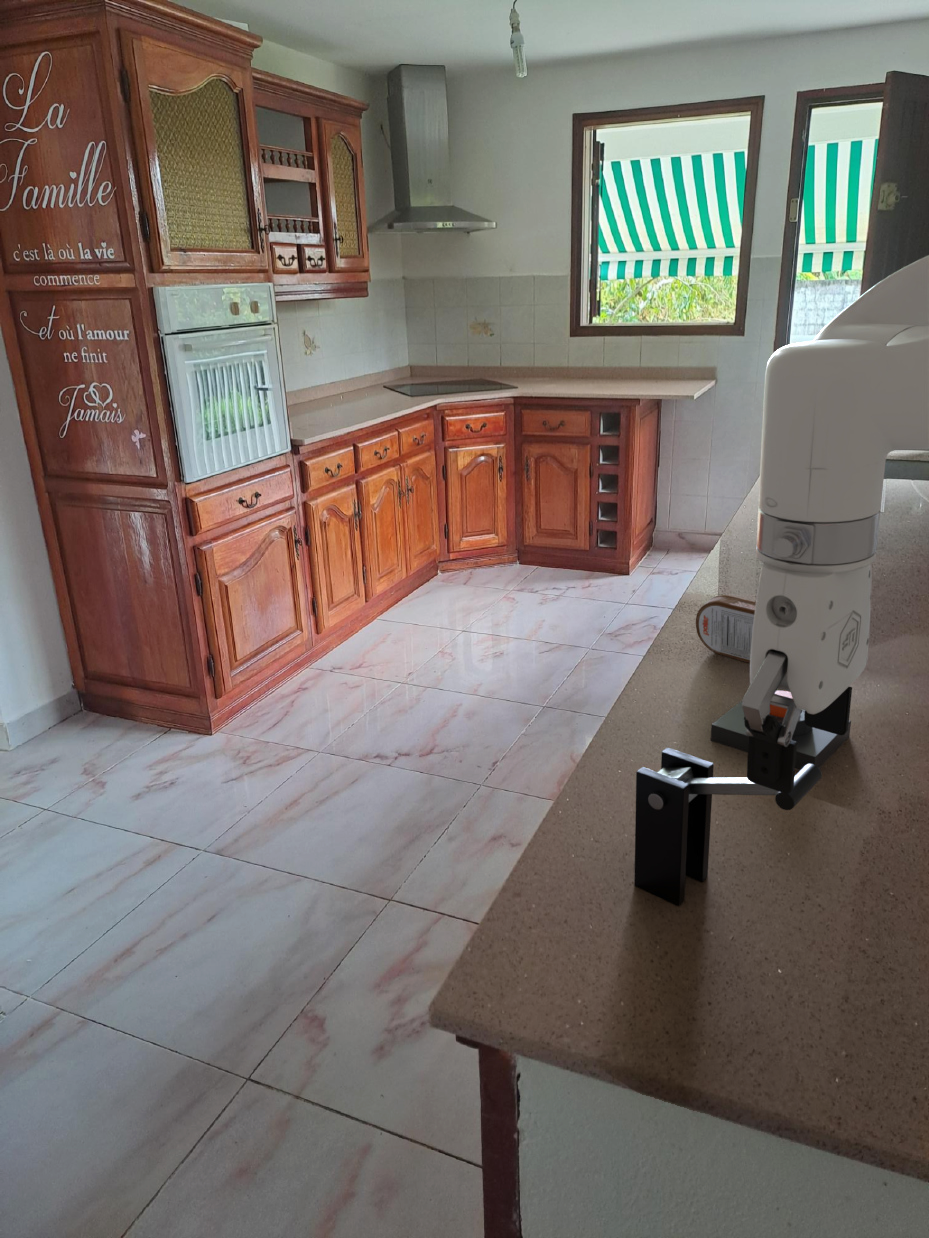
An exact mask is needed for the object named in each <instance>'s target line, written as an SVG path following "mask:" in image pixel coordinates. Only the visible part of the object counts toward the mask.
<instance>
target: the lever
mask: <svg viewBox="0 0 929 1238" xmlns="http://www.w3.org/2000/svg"><path fill="white" fill-rule="evenodd" d="M656 772H657V773H660V774H663V775H666V776H668V777H671V778H674V779H676V780H679V781H682V782H685V783H687V784H689V802H690V801H691V800H692V799H693V798H695V797H696V796H697V795H698V794H712V795H719V796H720V795H724V796H725V795H726V796H727V795H728V796H775V797H774V801H775V803H776V805H777V806H778V808H780V809H781V810H784V811H791V810H793V809H794V808H795V807H796V806H797V804H798V803H799V802H801V800H803V799H804V797H805V796H806V795H807V794H808V793H809V792H810V791H811V789H812V788H814V786H815V785H816V784H817V783H818V782H819V781H821V779H822V776H823V773H822V770H821V768H818V767H817V766H816V765H813V764H807V765H805V766H804V767H803V768H802V769H801V770H799V771H798V772H797V773H795V776H794V788H793V789H792V791H791V792H790V793H788V794H785V793H782V792H779V791H776V790H773V789H770V788H767V787H764V786H762V785H759V784H756V783H753V782H750V781H749V780H748V778H747V777H713V778H694V775H693V772H692V769H691V767H674V768H662V769H661V768H660V769H659V770H658V771H656Z"/></svg>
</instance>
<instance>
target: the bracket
mask: <svg viewBox="0 0 929 1238" xmlns="http://www.w3.org/2000/svg"><path fill="white" fill-rule="evenodd" d="M660 760H661V763H660V770H661V769H662V768H674V767H691V769H692V772H693V775H694V778H714V767H715V763H714V762H711V761H708V760H705V759H702V758H700V757H696V756H693V755H691V754H688V753H685V752H682V751H679V750H676V749H674V748H670V747H666V748H665V749H663V750H662V751H661V757H660ZM657 772H658V771H654V770H652V769H650V768H646V767H644V766H642V767H640V768H639V769H638V770H637V771H636V772H635V773H636V774H635V818H634V819H635V820H634V823H635V827H634V829H635V831H634V833H635V834H634V875H633V876H634V879H633V880H634V883H633V885H634V887H636V888H638V889H640V890H642V891H644V892H646V893H648V894H651V895H653V896H655V897H657V898H659V899H661V900H663V901H666V902H668V903H670V904H672V905H674V906H675V907H680V906H681V905H682V904H683V903H684V902H685V894H686V893H685V892H686V877H688V878H690V879H693V880H695V881H696V882H700V883H701V884H703V882H704V881H706V880H707V879H708V877H709V860H710V859H709V856H710V839H711V823H712V822H711V820H712V803H713V802H712V801H713V794H698V795H697V796H696V797H695V798H693V799H692V800H691V801H690V802H689V784H687V783H685V782H682V781H679V780H676V779H674V778H671V777H668V776H666V775H663V774H660V773H657Z"/></svg>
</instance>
